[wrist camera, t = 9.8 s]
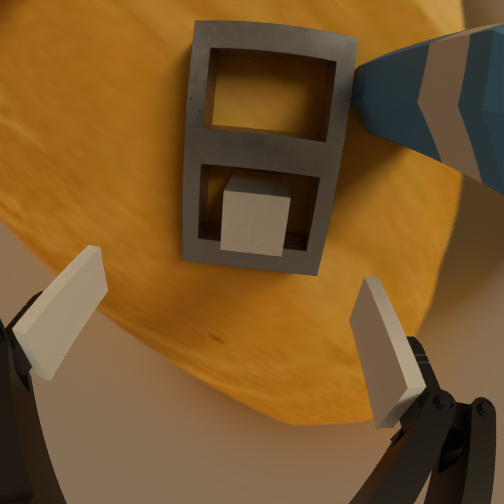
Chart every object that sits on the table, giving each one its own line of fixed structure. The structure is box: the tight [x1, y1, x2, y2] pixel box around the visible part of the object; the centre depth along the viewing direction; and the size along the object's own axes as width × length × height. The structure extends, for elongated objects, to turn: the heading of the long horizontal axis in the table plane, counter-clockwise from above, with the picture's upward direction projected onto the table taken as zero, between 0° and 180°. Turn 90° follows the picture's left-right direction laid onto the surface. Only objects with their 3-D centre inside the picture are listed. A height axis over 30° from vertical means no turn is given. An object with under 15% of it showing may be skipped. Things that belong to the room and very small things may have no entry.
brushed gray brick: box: [220, 170, 291, 257], centre depth 26 cm, size 5×5×7 cm
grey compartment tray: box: [182, 21, 358, 276], centre depth 25 cm, size 22×13×4 cm, turn 174°
